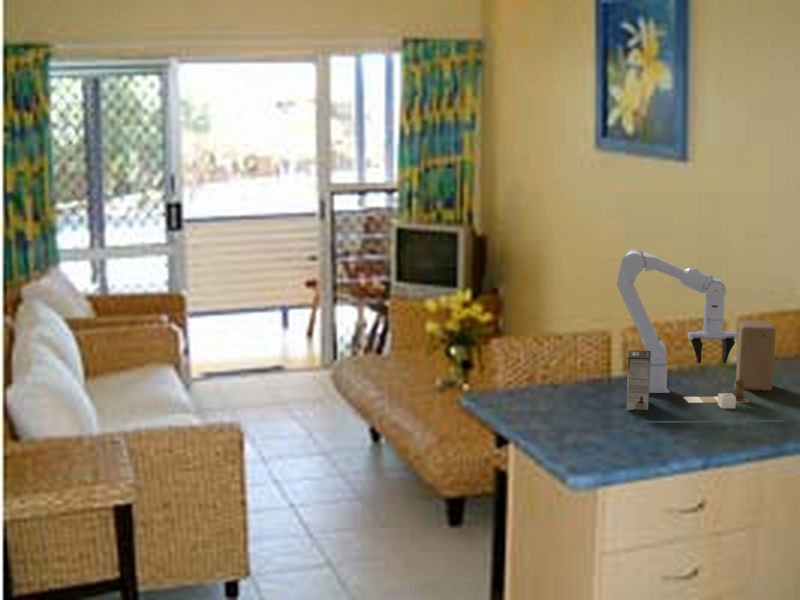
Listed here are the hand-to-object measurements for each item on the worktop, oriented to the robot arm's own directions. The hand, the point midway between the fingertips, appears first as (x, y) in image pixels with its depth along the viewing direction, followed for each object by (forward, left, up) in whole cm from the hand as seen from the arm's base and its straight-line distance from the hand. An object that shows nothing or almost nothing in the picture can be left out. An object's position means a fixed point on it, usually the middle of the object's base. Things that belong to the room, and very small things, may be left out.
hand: (711, 362), depth 340 cm
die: (0, -15, -10) cm, 18 cm away
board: (0, -8, -10) cm, 13 cm away
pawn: (+6, -8, -9) cm, 14 cm away
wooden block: (+16, +8, -10) cm, 21 cm away
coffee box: (-25, -13, -10) cm, 30 cm away
